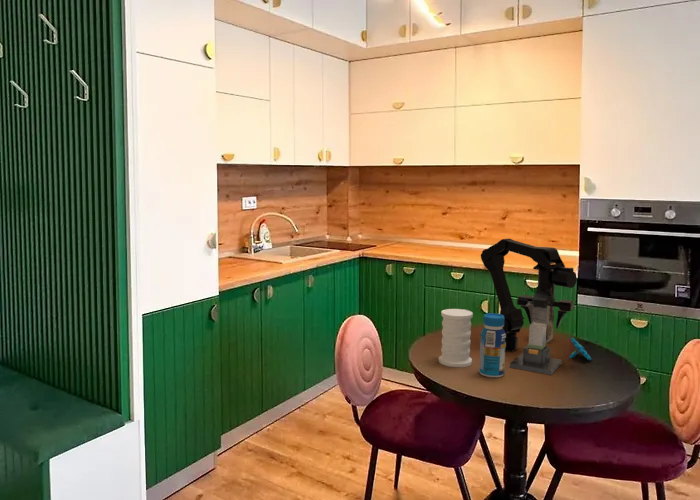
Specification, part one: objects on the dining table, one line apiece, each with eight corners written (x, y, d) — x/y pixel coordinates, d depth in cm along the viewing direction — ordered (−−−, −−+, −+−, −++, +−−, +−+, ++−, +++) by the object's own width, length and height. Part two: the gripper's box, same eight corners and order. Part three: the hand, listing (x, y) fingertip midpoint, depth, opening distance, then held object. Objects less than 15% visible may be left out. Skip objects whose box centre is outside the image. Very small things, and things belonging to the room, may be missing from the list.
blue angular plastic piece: (593, 360, 218) (573, 338, 220) (579, 370, 219) (559, 348, 222) (593, 355, 228) (573, 334, 231) (580, 365, 230) (561, 344, 232)
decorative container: (447, 355, 228) (449, 307, 225) (477, 361, 221) (479, 311, 219) (432, 363, 218) (434, 313, 216) (463, 369, 212) (465, 318, 209)
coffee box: (537, 336, 254) (539, 297, 251) (553, 339, 250) (555, 299, 248) (529, 341, 246) (531, 301, 244) (545, 344, 243) (547, 303, 240)
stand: (509, 367, 214) (510, 348, 214) (521, 357, 226) (522, 339, 225) (551, 375, 207) (552, 355, 206) (561, 363, 219) (562, 345, 218)
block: (527, 350, 215) (529, 324, 214) (531, 346, 219) (533, 322, 218) (541, 352, 213) (543, 326, 211) (545, 349, 217) (546, 323, 215)
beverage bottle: (473, 371, 210) (475, 313, 207) (494, 368, 213) (496, 311, 210) (488, 379, 202) (491, 319, 199) (509, 376, 205) (512, 317, 203)
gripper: (513, 284, 218) (511, 327, 220) (568, 290, 208) (565, 335, 210) (522, 279, 227) (520, 321, 229) (575, 284, 217) (573, 328, 219)
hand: (543, 326), depth 222 cm, fingers open, 9 cm apart
